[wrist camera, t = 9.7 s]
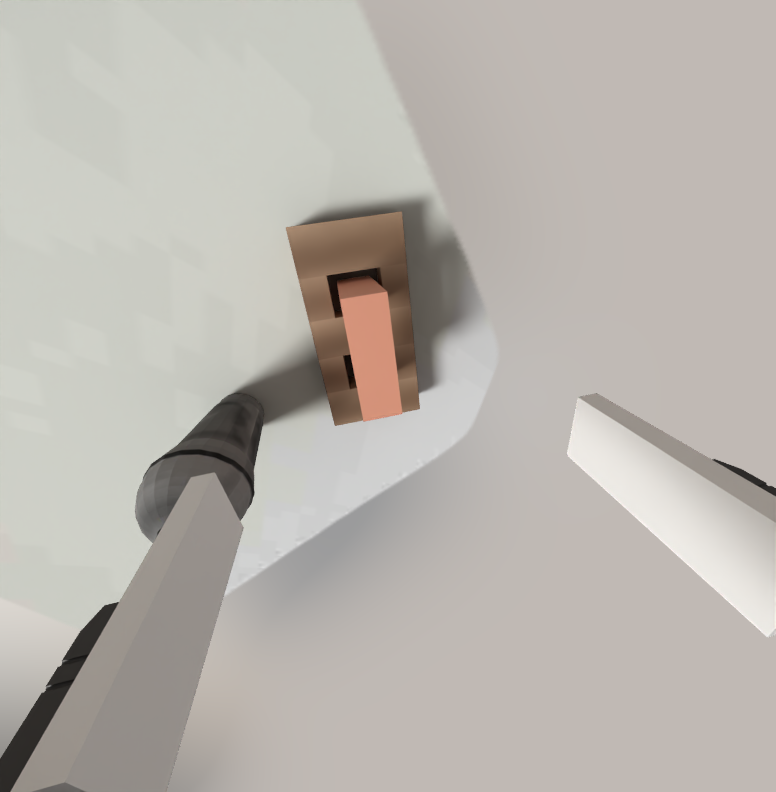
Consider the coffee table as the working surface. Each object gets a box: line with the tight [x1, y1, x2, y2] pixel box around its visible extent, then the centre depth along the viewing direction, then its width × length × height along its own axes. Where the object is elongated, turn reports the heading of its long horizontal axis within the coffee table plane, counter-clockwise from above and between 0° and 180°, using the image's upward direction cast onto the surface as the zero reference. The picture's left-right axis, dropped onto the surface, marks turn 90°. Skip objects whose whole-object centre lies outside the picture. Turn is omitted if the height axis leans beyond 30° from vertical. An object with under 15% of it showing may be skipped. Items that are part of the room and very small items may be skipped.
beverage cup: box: [135, 394, 264, 543], centre depth 24 cm, size 7×7×20 cm
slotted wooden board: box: [286, 211, 420, 426], centre depth 29 cm, size 18×9×3 cm, turn 7°
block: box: [337, 275, 402, 421], centre depth 26 cm, size 9×3×10 cm, turn 7°
